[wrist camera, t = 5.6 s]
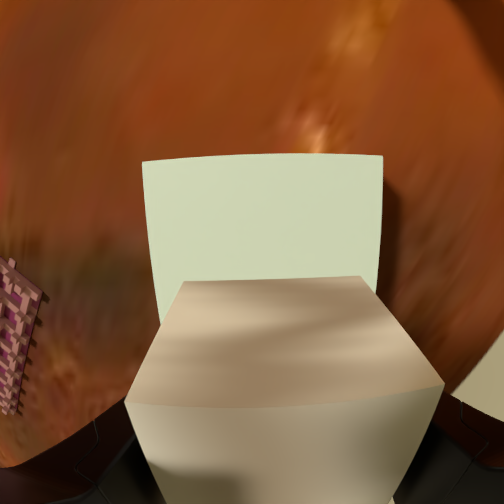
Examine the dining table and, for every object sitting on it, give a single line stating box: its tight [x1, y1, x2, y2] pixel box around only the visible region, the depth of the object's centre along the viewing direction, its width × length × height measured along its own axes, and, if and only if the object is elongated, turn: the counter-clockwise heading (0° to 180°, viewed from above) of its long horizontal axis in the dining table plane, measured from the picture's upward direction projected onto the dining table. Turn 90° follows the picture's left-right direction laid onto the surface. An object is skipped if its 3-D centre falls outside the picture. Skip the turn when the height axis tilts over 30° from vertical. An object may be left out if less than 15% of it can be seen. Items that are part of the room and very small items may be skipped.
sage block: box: [142, 154, 383, 324], centre depth 19 cm, size 12×12×4 cm
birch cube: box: [124, 276, 445, 504], centre depth 7 cm, size 5×5×5 cm
